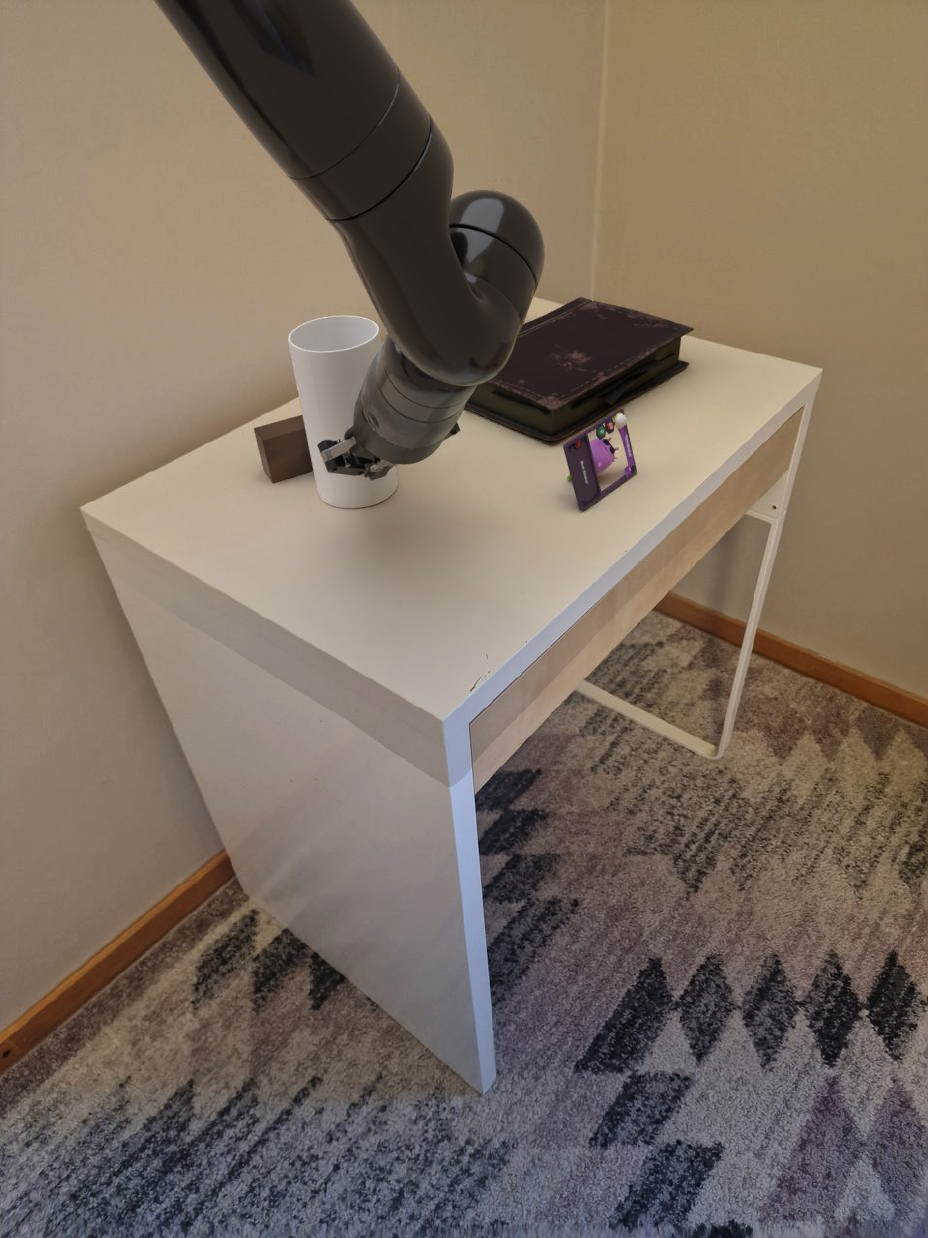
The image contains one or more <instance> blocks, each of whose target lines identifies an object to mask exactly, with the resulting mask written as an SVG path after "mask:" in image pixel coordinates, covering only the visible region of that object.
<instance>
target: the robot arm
mask: <svg viewBox="0 0 928 1238" xmlns="http://www.w3.org/2000/svg"><path fill="white" fill-rule="evenodd" d="M153 3H155V4H156V6H157V8H158V9H159V10H160V11H161V13H162V14H163V15H164V17H165V18H166V20H167V22H168V23H169V24H170V25H171V26H172V28H173V29H174V31H175V32H176V33H177V35H178V36H179V38H180V39H181V41H182V42H183V43H184V45H185V46H186V47H187V49H188V50H189V51H190V53H191V54H192V55H193V57H194V59H195V60H196V61H197V63H198V64H199V66H200V67H201V68H202V70H203V71H204V72H205V74H206V75H207V77H208V78H209V79H210V81H211V82H212V83H213V85H214V86H215V87H216V90H217V91H219V93H220V94H221V96H222V97H223V98H224V100H225V101H226V102H227V104H228V105H229V107H230V108H231V109H232V110H233V112H234V113H235V114H236V116H237V117H238V118H239V120H240V121H241V122H242V124H243V125H244V126H245V127H246V129H248V131H249V132H250V133H251V134H252V136H253V137H254V139H255V140H256V141H257V142H258V143H259V145H260V146H261V147H262V149H263V150H265V152H266V153H267V154H268V155H269V157H270V158H271V159H272V160H273V161H274V163H275V164H276V165H277V166H278V167H279V169H280V170H281V171H282V172H283V173H284V174H285V175H286V176H287V178H288V179H289V180H290V181H291V182H292V184H293V185H294V186H295V187H296V188H297V189H298V190H299V191H300V192H301V194H302V195H303V196H304V197H305V198H306V199H307V201H308V202H309V203H310V204H311V205H312V206H313V207H314V209H315V210H316V211H317V212H318V213H319V214H320V215H321V216H322V218H323V219H324V220H325V221H326V222H327V223H328V224H329V225H330V226H331V227H332V228H333V230H334V231H335V232H336V233H337V235H338V236H339V238H340V241H341V242H342V244H343V246H344V249H345V251H346V253H347V255H348V257H349V260H350V262H351V265H352V266H353V269H354V271H355V272H356V274H357V276H358V278H359V280H360V282H361V284H362V285H363V287H364V289H365V292H366V294H367V297H369V300H370V301H371V304H372V306H373V307H374V309H375V312H376V314H377V315H378V318H379V320H380V322H381V323H382V325H383V328H384V329H385V331H386V334H385V335H384V338H383V340H382V342H381V348H380V351H379V352H378V353H377V355H376V356H375V357H374V359H373V361H372V363H371V365H370V367H369V369H368V372H367V374H366V377H365V379H364V382H363V385H362V387H361V390H360V393H359V395H358V398H357V400H356V403H355V408H354V417H353V426H352V427H350V428H349V429H348V430H347V431H346V432H345V435H344V439H345V440H344V441H342V442H341V440H340V439H337V440H335V441H333V440H323V441H321V442H320V443H319V444H318V445H317V446H318V449H319V451H320V454H321V457H322V459H323V462H324V464H325V467H326V469H327V472H328V473H336V474H345V475H353V476H357V475H358V476H360V475H364V477H365V478H366V477H369V478H370V480H371V481H372V480H375V479H378V478H381V477H384V476H386V475H387V473H388V471H389V470H390V469H391V468H392V467H394V466H396V467H397V466H399V465H402V466H403V465H413V464H417V463H419V462H422V461H424V460H427V459H428V458H429V457H431V456H432V455H433V454H434V453H435V452H436V451H437V450H438V449H439V448H440V446H441V445H442V443H443V442H444V441H446V440H448V439H449V438H452V437H453V436H456V435H457V434H458V433H459V432H461V428H460V425H459V423H458V421H459V419H460V418H461V416H462V414H463V412H464V410H465V409H466V408H465V405H466V402H467V401H468V399H469V398H470V397H471V395H472V394H473V392H474V391H475V389H476V388H477V386H478V385H479V384H482V383H484V382H486V381H488V380H490V379H492V378H493V377H495V376H496V375H497V374H498V373H499V372H500V371H501V370H502V369H503V368H504V366H505V365H506V363H507V362H508V360H509V358H510V356H511V354H512V352H513V350H514V347H515V344H516V342H517V339H518V336H519V334H520V331H521V328H522V326H523V324H525V320H526V318H527V315H528V312H529V309H530V307H531V305H532V301H533V299H534V296H535V293H536V291H537V288H538V286H539V283H540V281H541V278H542V275H543V272H544V271H543V270H544V267H545V260H546V259H545V257H546V249H545V241H544V238H543V233H542V230H541V228H540V226H539V223H538V222H537V220H536V218H535V217H534V215H533V214H532V213H531V212H530V210H529V209H528V207H526V206H525V205H524V204H523V203H522V202H520V201H519V200H517V199H516V198H515V197H513V196H512V195H509V194H507V193H504V192H501V191H498V190H493V189H477V190H470V191H468V192H467V191H466V192H464V193H461V194H459V195H457V196H454V197H453V198H452V195H453V187H454V180H455V179H454V177H455V163H454V158H453V154H452V150H451V148H450V145H449V144H448V142H447V140H446V137H445V136H444V134H443V132H442V131H441V129H440V128H439V126H438V124H437V123H436V122H435V119H434V118H433V116H432V115H431V114H430V112H429V111H428V110H427V108H426V106H425V105H424V103H423V102H422V100H421V99H420V97H419V96H418V95H417V92H416V91H415V89H414V88H413V87H412V85H411V84H410V82H409V81H408V80H407V78H406V76H405V75H404V73H403V71H402V70H401V69H400V67H399V66H398V65H397V63H396V61H395V59H394V58H393V57H392V56H391V54H390V52H389V51H388V49H387V48H386V47H385V45H384V44H383V42H382V41H381V39H380V38H379V37H378V35H377V34H376V33H375V31H374V29H373V28H372V27H371V25H370V24H369V22H368V20H366V18H365V17H364V15H363V14H362V13H361V11H360V10H359V8H358V7H357V5H356V4H355V3H354V2H353V0H153Z"/></svg>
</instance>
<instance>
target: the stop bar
mask: <svg viewBox="0 0 928 1238" xmlns="http://www.w3.org/2000/svg"><path fill="white" fill-rule="evenodd" d="M253 432H254V435H255V436H254V437H255V440H256V445H257V449H258V454H259V457H260V460H261V465H262V469H263V471H264V473H265V475H266V476H267V478H268V479H269V480H270V482H271V483H272V484H274V483H277V482H281V481H284V480H287V479H290V478H294V477H296V476H300V475H304V474H306V473H310V472H314V471H313V466H312V460H311V455H310V450H309V445H308V440H307V435H306V430H305V425H304V420H303V415H302V414H299V415H295V416H292V417H288V418H285V419H281V420H278V421H274V422H270V423H267V424H263V425H259V426H256V427H254V428H253Z"/></svg>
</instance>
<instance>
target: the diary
mask: <svg viewBox="0 0 928 1238" xmlns="http://www.w3.org/2000/svg"><path fill="white" fill-rule="evenodd" d="M694 330H695V328H694V327H693V326H689V325H686V324H683V323H679V322H677V321H673V320H670V319H667V318H663V317H660V316H657V315H653V314H650V313H647V312H643V311H640V310H636V309H632V308H630V307H624V306H620V305H615V304H611V303H606V302H602V301H597V300H592V299H589V298H586V297H582V296H579V297H577V298H575V299H573V300H571V301H570V302H567V303H565V304H564V305H561V306H560V307H558V308H556V309H554V310H551V311H550V312H548V313H546V314H544V315H542V316H539V317H536V318H534V319H532V320H529V321H527V322H524V323H523V326H522V328H521V331H520V334H519V336H518V339H517V342H516V344H515V347H514V350H513V352H512V354H511V356H510V358H509V360H508V362H507V363H506V365H505V366H504V368H503V369H502V370H501V371H500V372H499V373H498V374H497V375H496V376H495V377H493V378H492V379H490V380H488V381H486V382H484V383H482V384H479V385H478V386H477V388H476V389H475V391H474V392H473V394H472V395H471V397H470V398H469V399H468V401H467V402H466V405H465V408H464V409H466V410H469V411H471V412H473V413H475V414H478V415H480V416H483V417H485V418H487V419H489V420H492V421H494V422H496V423H498V424H501V425H504V426H507V427H509V428H510V429H512V430H515V431H517V432H521V433H523V434H526V435H528V436H532V437H535V438H537V439H541V440H543V441H546V442H549V441H550V442H551V441H559V440H561V439H564V438H566V437H567V436H569V435H571V434H573V433H574V432H577V431H578V430H581V429H582V428H584V427H586V426H588V425H590V424H592V423H593V422H595V421H596V420H598V419H599V418H601V417H602V416H604V415H605V414H606V413H608V412H610V411H611V410H613V409H615V408H616V407H618V406H619V405H621V404H623V403H624V402H626V401H628V400H630V399H633V398H635V397H637V396H639V395H642V394H644V393H646V392H648V391H650V390H653V389H655V388H657V387H658V386H660V385H661V384H663V383H664V382H666V381H667V380H668V379H670V378H672V377H673V376H674V375H676V374H677V373H679V372H681V371H682V370H683V369H686V368H687V367H688V366H690V362H687V361H685V360H682V359H680V352H681V344H682V337H684V336H686V335H688V334H689V333H691V332H693V331H694Z"/></svg>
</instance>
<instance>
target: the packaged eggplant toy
mask: <svg viewBox="0 0 928 1238" xmlns="http://www.w3.org/2000/svg"><path fill="white" fill-rule="evenodd" d="M627 423H628V417H627V416H626V415H625V410H624V408H618V409H616V410H615V411H613V412H611V413H610V414H608V415H607V416H606V417H604V418H601V420H599V421H597V422H596V423H595V424H593V425H591V426H589V427H588V428H586V429H585V430H583V431H582V432H580V433H579V434H577V435H576V436H575V437H572V438H571V439H569V440H568V441H566V442H565V443H563V444H562V449H563V453H564V457H565V460H566V464H567V469H568V471H569V475H568V476H567V477H566V480H567V481H571V484H572V489H573V491H574V494H575V498H576V502H577V503H576V504H577V506H578V510H579V511H582V512H583V511H586V510H587V509H589V508H590V507H591V506H593V505H594V504H595V503H597V502H599V500H601V499H602V498H603V497H605V496H606V495H608V494H609V493H610V492H612V491H613V490H615V489H616V488H618V487H619V486H620V485H622V484H623V483H625V482H626V481H627V480H629V479H630V478H631V477H633V476H635V475H636V474H637V472H638V469H637V464H636V459H635V456H634V455H635V454H634V450H633V446H632V441H631V437H630V433H629V428H628V424H627ZM615 427H616V429H617V431H618V434H619V436H620V438H621V441H622V445H623V448H624V452H625V453H624V454H625V456H626V461H627V466H626V467H624V475H622V476H621V477H620V478H618V479H617V480H615V481H614V482H613V483H611V484H610V485H609V486H607V487H606V488H604V489H602V488H601V485H600V484H601V483H600V479H599V476H598V475H600V474H601V473H603V472H605V470H607V469H608V468H609V467H610V466H611V465H612V464H613V463H614V462H616V459H618V457H617V456H615V452H616V451H619V449H620V447H614V446H613V445H612V443H611V440H612V437H610V436H609V437H608V438H606V434H608V435H611V434H612V433H614V432H615ZM594 430H595V436H596V438H594V439H592V440H590V439H589V434H590V433H592V432H593V431H594Z"/></svg>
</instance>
